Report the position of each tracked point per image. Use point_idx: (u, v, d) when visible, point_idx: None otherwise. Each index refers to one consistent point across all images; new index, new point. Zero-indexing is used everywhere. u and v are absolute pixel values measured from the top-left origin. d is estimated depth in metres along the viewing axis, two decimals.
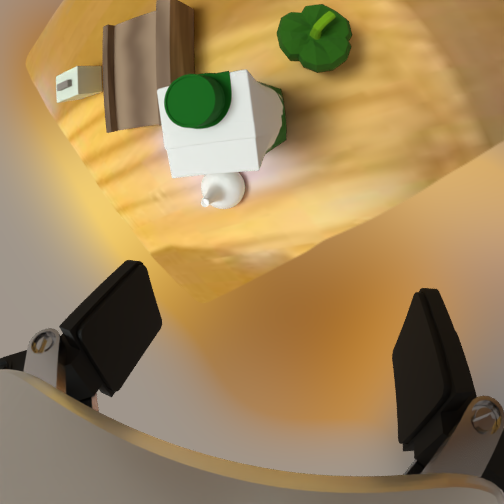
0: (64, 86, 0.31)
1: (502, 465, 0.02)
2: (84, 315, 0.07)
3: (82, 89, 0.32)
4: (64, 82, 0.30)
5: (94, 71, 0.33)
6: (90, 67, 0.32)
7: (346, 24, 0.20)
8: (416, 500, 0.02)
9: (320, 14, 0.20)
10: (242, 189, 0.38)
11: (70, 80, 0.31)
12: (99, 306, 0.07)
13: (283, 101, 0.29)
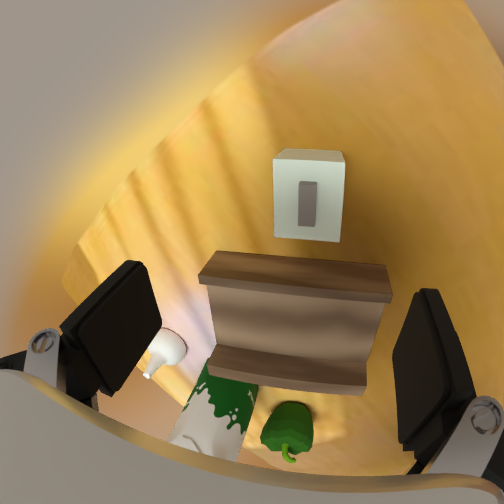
0: (301, 214, 0.19)
1: (502, 465, 0.02)
2: (84, 315, 0.07)
3: None
4: (311, 215, 0.19)
5: None
6: None
7: (292, 453, 0.37)
8: (416, 500, 0.02)
9: (299, 450, 0.36)
10: None
11: None
12: (99, 306, 0.07)
13: None
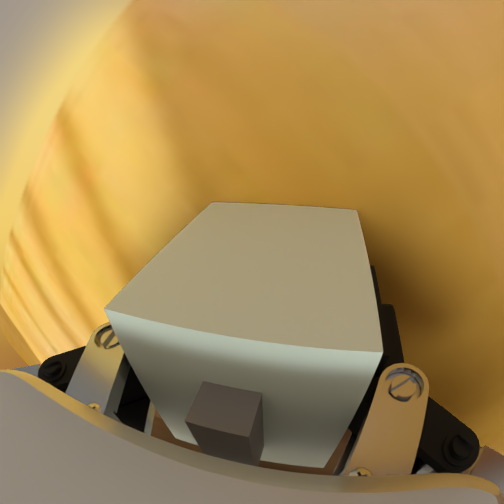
0: None
1: (428, 453, 0.04)
2: None
3: None
4: None
5: None
6: None
7: None
8: (416, 500, 0.02)
9: None
10: None
11: (256, 456, 0.06)
12: None
13: None
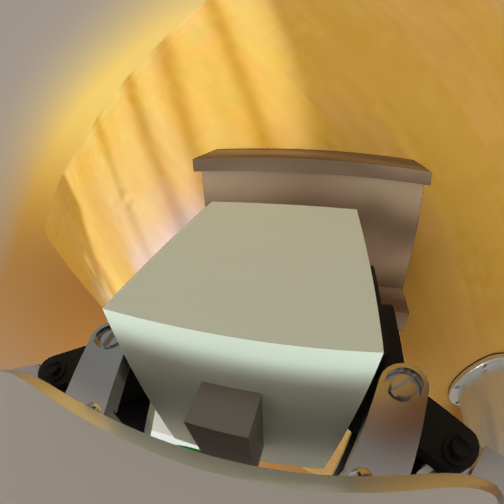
0: None
1: (428, 453, 0.04)
2: None
3: None
4: None
5: None
6: None
7: None
8: (416, 500, 0.02)
9: None
10: None
11: None
12: None
13: None
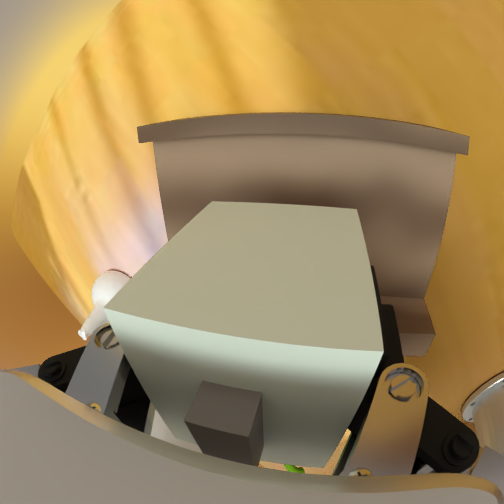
0: None
1: (428, 453, 0.04)
2: None
3: None
4: None
5: None
6: None
7: None
8: (416, 500, 0.02)
9: None
10: None
11: (256, 456, 0.06)
12: None
13: None
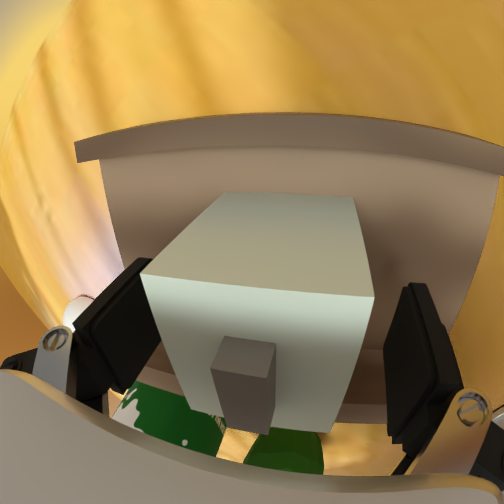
0: (231, 416, 0.06)
1: (490, 461, 0.03)
2: (98, 311, 0.07)
3: None
4: (257, 421, 0.06)
5: None
6: None
7: None
8: (416, 500, 0.02)
9: None
10: None
11: None
12: (112, 303, 0.07)
13: None
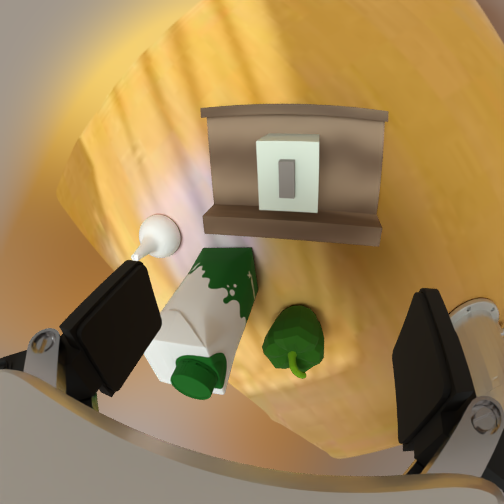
0: (281, 188, 0.22)
1: (502, 465, 0.02)
2: (84, 314, 0.07)
3: None
4: (290, 188, 0.22)
5: None
6: None
7: (300, 371, 0.37)
8: (416, 500, 0.02)
9: (309, 361, 0.35)
10: None
11: None
12: (99, 306, 0.07)
13: None
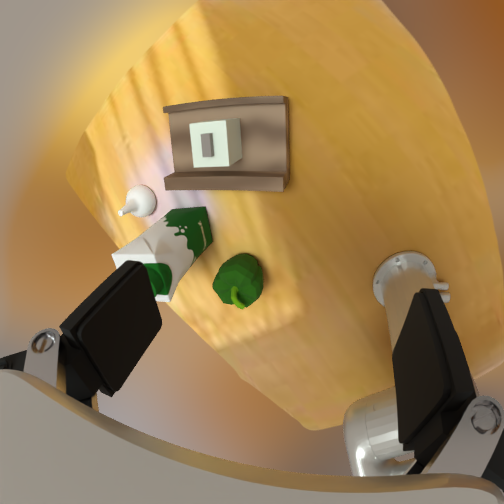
0: (203, 150, 0.33)
1: (502, 465, 0.02)
2: (84, 315, 0.07)
3: None
4: (208, 150, 0.33)
5: None
6: None
7: (244, 306, 0.48)
8: (416, 500, 0.02)
9: (248, 295, 0.46)
10: None
11: (212, 155, 0.34)
12: (99, 306, 0.07)
13: None
